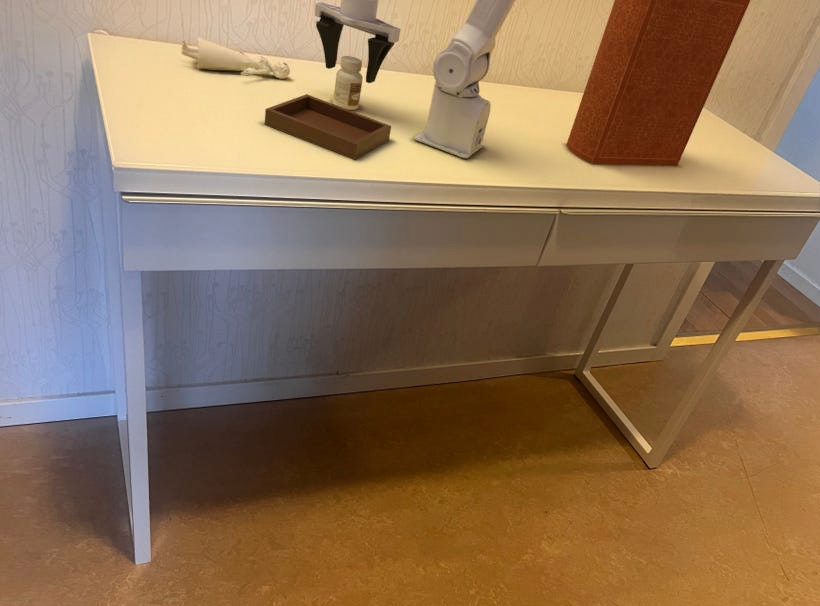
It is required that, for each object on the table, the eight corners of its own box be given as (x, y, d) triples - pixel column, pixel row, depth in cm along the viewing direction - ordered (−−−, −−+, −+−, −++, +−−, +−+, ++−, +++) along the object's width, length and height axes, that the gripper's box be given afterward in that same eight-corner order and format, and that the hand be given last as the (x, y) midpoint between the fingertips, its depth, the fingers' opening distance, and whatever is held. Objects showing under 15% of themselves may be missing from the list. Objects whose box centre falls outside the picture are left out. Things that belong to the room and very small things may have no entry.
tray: (389, 140, 111) (391, 125, 110) (354, 159, 102) (356, 144, 101) (305, 108, 114) (306, 93, 113) (264, 124, 105) (265, 108, 104)
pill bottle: (354, 112, 118) (360, 65, 113) (329, 105, 118) (335, 58, 113) (361, 105, 121) (368, 60, 117) (337, 98, 121) (343, 52, 117)
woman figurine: (183, 25, 119) (289, 49, 126) (181, 51, 122) (285, 74, 129) (181, 45, 111) (294, 70, 118) (179, 73, 113) (290, 96, 120)
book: (650, 148, 140) (717, -15, 123) (677, 165, 135) (751, -2, 117) (561, 144, 129) (621, -35, 112) (587, 164, 124) (653, -21, 106)
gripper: (308, -27, 107) (300, 64, 115) (391, 1, 104) (377, 92, 112) (331, -29, 112) (322, 58, 120) (411, -3, 110) (396, 84, 118)
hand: (350, 74), depth 117 cm, fingers open, 7 cm apart
